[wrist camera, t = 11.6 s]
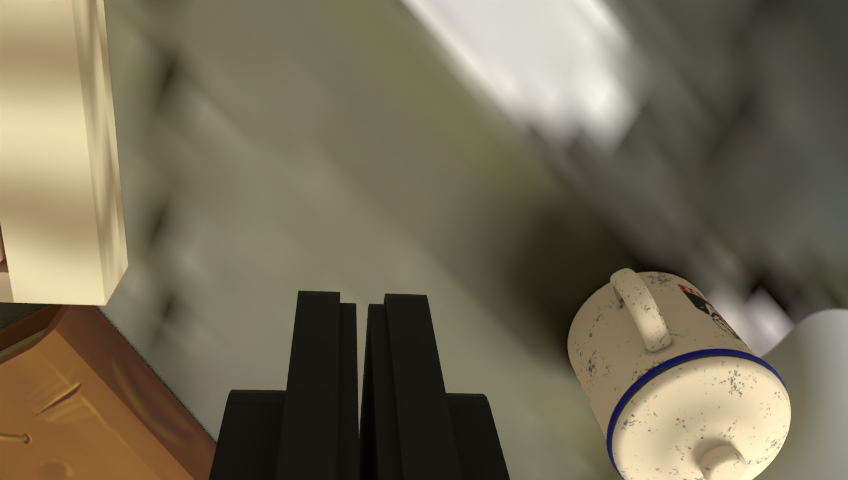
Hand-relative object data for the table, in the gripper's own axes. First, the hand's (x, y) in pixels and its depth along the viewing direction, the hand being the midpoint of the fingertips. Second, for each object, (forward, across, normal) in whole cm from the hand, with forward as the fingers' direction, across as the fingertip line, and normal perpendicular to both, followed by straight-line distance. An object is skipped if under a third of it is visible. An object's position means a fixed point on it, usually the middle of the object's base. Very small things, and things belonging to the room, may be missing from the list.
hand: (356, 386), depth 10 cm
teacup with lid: (+27, -17, +15) cm, 35 cm away
